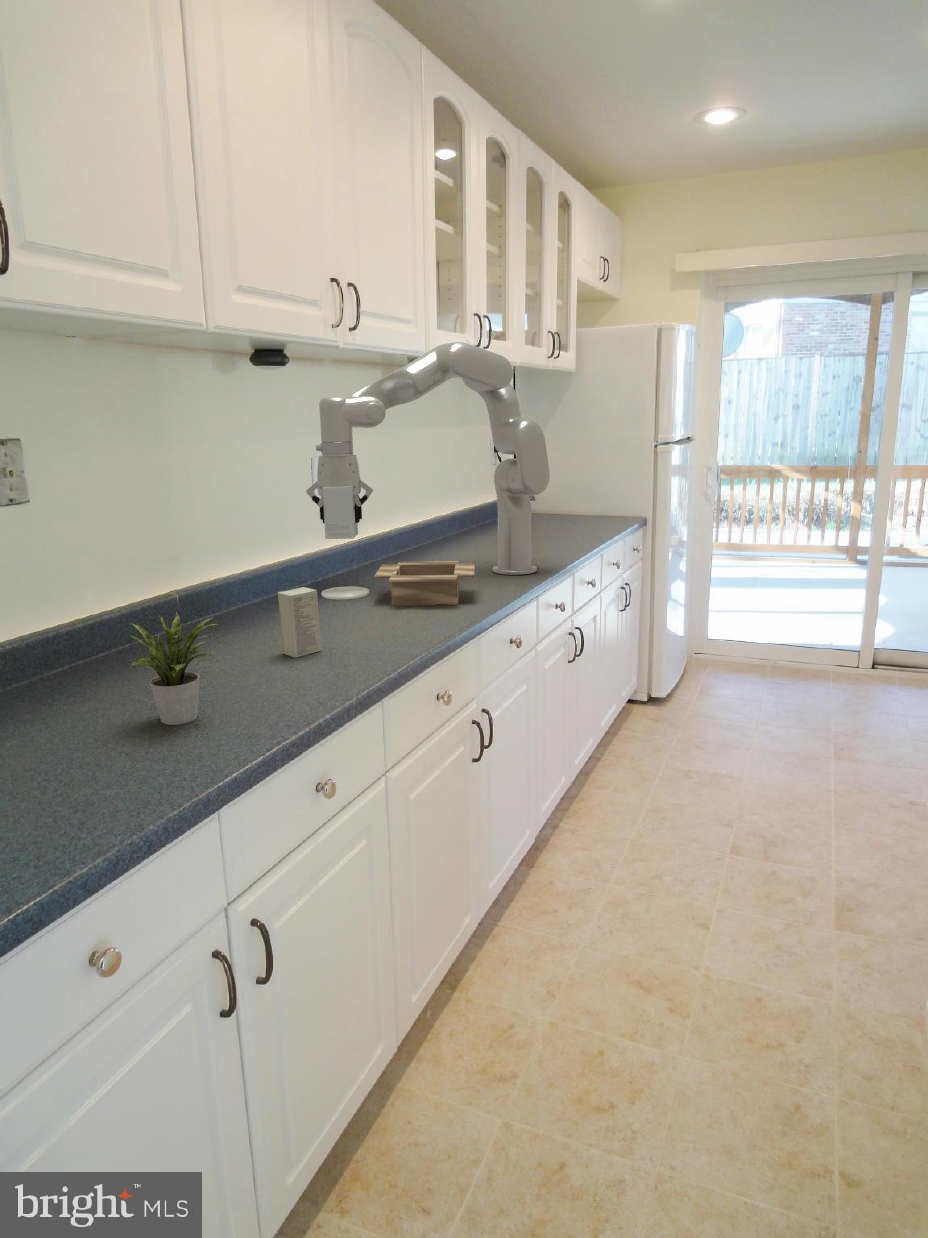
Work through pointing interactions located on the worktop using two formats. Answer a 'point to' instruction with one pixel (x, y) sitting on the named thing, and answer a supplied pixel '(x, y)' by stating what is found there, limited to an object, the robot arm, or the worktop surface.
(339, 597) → the plate
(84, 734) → the worktop surface
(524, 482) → the robot arm
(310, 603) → the skincare box
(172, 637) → the house plant
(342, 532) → the supplement box
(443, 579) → the carton
